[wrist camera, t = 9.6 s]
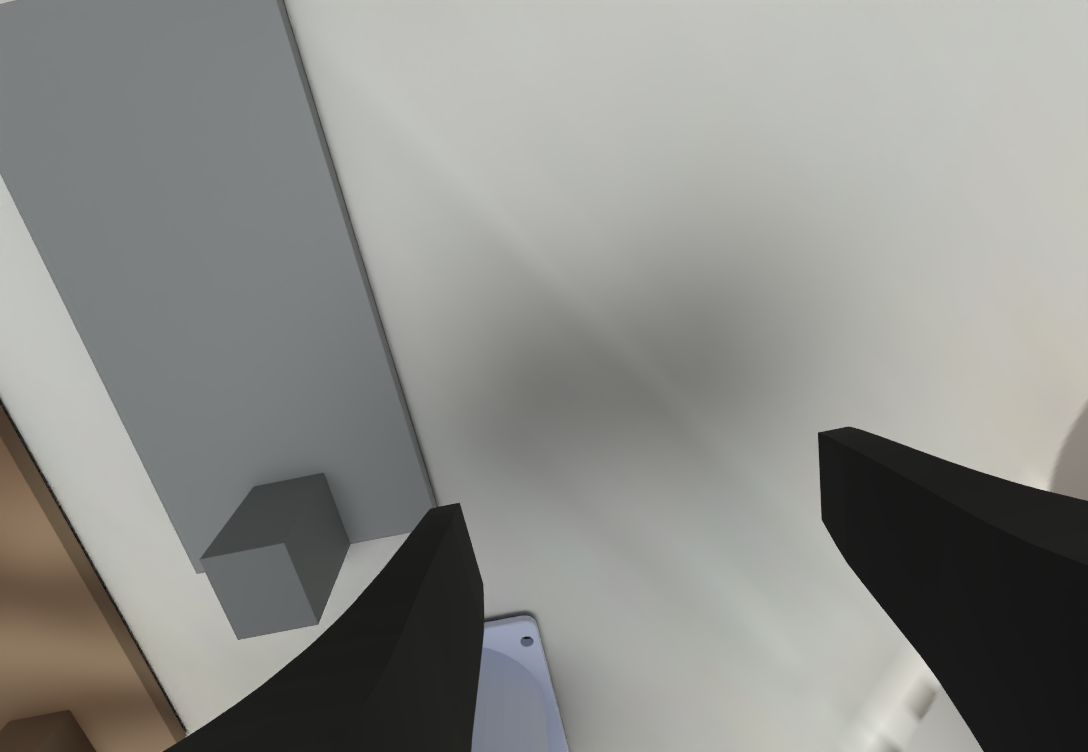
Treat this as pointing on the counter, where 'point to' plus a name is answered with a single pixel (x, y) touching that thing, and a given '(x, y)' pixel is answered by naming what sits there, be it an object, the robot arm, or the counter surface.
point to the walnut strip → (64, 635)
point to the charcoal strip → (213, 284)
